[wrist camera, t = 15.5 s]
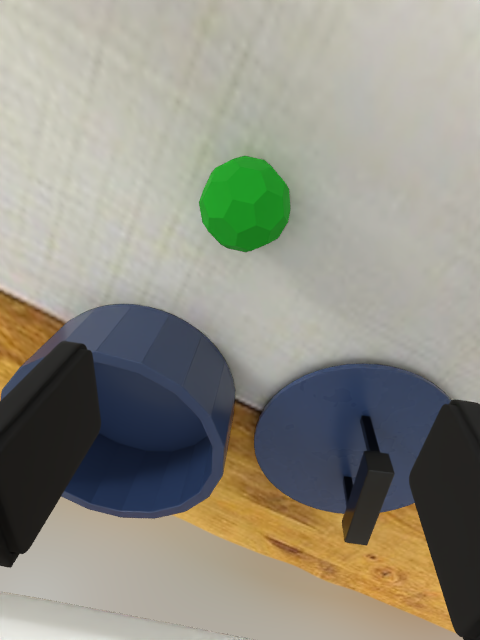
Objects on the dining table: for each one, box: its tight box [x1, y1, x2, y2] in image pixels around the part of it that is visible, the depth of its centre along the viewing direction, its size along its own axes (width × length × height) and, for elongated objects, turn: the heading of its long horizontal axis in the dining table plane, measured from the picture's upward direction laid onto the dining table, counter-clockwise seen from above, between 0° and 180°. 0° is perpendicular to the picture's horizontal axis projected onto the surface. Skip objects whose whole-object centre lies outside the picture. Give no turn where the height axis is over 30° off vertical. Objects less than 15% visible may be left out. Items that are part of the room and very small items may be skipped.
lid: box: [254, 364, 452, 545], centre depth 29 cm, size 17×17×6 cm
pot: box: [1, 304, 235, 518], centre depth 28 cm, size 16×16×6 cm
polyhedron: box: [199, 156, 290, 252], centre depth 21 cm, size 5×5×5 cm
